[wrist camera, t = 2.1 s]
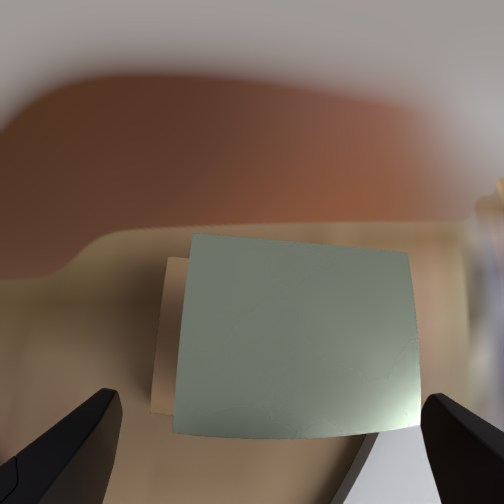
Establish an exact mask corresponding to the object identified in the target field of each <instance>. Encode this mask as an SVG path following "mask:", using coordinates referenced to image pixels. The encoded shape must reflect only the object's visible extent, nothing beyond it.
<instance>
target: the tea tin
mask: <svg viewBox="0 0 504 504" xmlns="http://www.w3.org/2000/svg"><path fill="white" fill-rule="evenodd" d="M420 420H421V386H420V359H419V343H418V331H417V320H416V310H415V301H414V293H413V286H412V279H411V272H410V266H409V259H408V253H407V252H397V251H387V250H377V249H366V248H356V247H346V246H335V245H324V244H313V243H302V242H291V241H280V240H269V239H257V238H245V237H233V236H221V235H209V234H196V233H193V235H192V242H191V249H190V257H189V264H188V272H187V279H186V287H185V296H184V304H183V313H182V322H181V332H180V342H179V352H178V364H177V375H176V388H175V402H174V418H173V433H179V434H188V435H197V436H208V437H222V438H241V439H305V438H324V437H337V436H348V435H358V434H366V433H374V432H381V431H388V430H394V429H400V428H406V427H411V426H416V425H420Z"/></svg>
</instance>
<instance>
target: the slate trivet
mask: <svg viewBox="0 0 504 504" xmlns="http://www.w3.org/2000/svg"><path fill="white" fill-rule="evenodd" d="M422 407H423V406H421V409H422ZM330 504H441V501H440V497H439V494H438V491H437V487H436V484H435V480H434V477H433V474H432V471H431V468H430V464H429V461H428V458H427V453H426V449H425V444H424V440H423V435H422V431H421V427H420V425H416V426H411V427H406V428H400V429H394V430H388V431H381V432H374V433H367V434H366V436H365V439H364V441H363V443H362V445H361V447H360V449H359V451H358V453H357V455H356V457H355V459H354V461H353V463H352V465H351V467H350V469H349V471H348V473H347V475H346V476H345V478H344V480H343V482H342V484H341V486H340V487H339V489H338V491H337V493H336V494H335V496H334V498H333V500H332V501H331V503H330Z"/></svg>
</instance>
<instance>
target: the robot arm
mask: <svg viewBox="0 0 504 504" xmlns="http://www.w3.org/2000/svg"><path fill="white" fill-rule="evenodd" d="M122 416H123V411H122V406H121V402H120V398H119V394H118V392H117V391H116V390H113V389H108V388H102V389H100V390H99V391H98V392H96V393H95V394H94V395H93V396H91V397H90V398H89V399H88V400H86V401H85V402H84V403H82V404H81V405H80V406H79V407H77V408H76V409H75V410H73V411H72V412H71V413H70V414H68V415H67V416H66V417H64V418H63V419H62V420H61V421H59V422H58V423H57V424H55V425H54V426H53V427H51V428H50V429H49V430H48V431H46V432H45V433H44V434H42V435H41V436H40V437H38V438H37V439H36V440H35V441H33V442H32V443H31V444H29V445H28V446H27V447H25V448H24V449H23V450H21V451H20V452H19V453H18V454H16V456H13V457H12V458H11V459H9V460H8V461H7V462H6V463H4V464H3V465H1V466H0V504H102V503H103V500H104V496H105V493H106V489H107V486H108V482H109V479H110V475H111V472H112V469H113V465H114V460H115V455H116V449H117V443H118V438H119V432H120V427H121V422H122ZM420 427H421V431H422V435H423V440H424V444H425V449H426V453H427V458H428V461H429V464H430V468H431V471H432V474H433V477H434V480H435V484H436V487H437V491H438V494H439V497H440V501H441V504H504V432H503V431H501V430H499V429H498V428H496V427H495V426H493V425H491V424H490V423H488V422H487V421H485V420H483V419H482V418H480V417H479V416H477V415H476V414H474V413H472V412H471V411H469V410H468V409H466V408H465V407H463V406H461V405H460V404H458V403H457V402H455V401H454V400H452V399H450V398H449V397H447V396H446V395H444V394H443V393H436V394H431V395H430V396H429V397H428V398H427V400H426V402H425V403H424V405H423V407H422V409H421V420H420Z"/></svg>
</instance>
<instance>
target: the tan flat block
mask: <svg viewBox="0 0 504 504" xmlns="http://www.w3.org/2000/svg"><path fill="white" fill-rule="evenodd" d="M188 264H189V258H180V257H168V261H167V267H166V274H165V280H164V287H163V294H162V301H161V308H160V316H159V324H158V332H157V341H156V350H155V359H154V370H153V381H152V393H151V406H150V413H156V414H162V415H170V416H174V402H175V388H176V375H177V364H178V352H179V342H180V332H181V322H182V313H183V304H184V296H185V287H186V279H187V272H188Z"/></svg>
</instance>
